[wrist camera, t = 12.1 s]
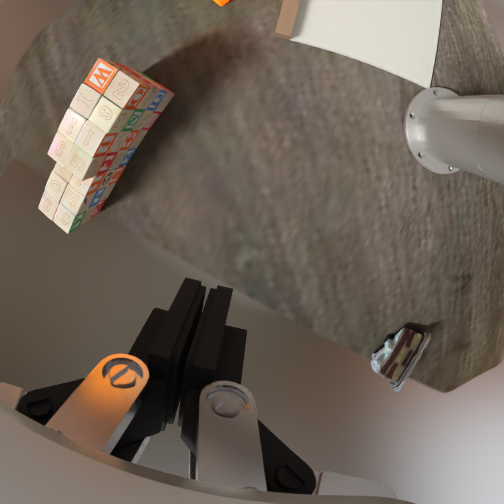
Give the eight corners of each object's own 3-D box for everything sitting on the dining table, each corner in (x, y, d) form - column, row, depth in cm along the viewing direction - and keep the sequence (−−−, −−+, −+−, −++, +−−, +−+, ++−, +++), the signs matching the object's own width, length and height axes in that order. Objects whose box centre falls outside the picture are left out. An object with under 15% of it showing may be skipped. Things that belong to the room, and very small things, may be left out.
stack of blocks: (100, 214, 44) (54, 243, 32) (72, 191, 43) (22, 214, 31) (176, 93, 37) (140, 83, 25) (142, 70, 35) (98, 56, 24)
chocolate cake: (404, 312, 47) (375, 378, 43) (434, 330, 46) (407, 395, 42) (380, 321, 55) (353, 377, 51) (407, 337, 54) (382, 393, 50)
